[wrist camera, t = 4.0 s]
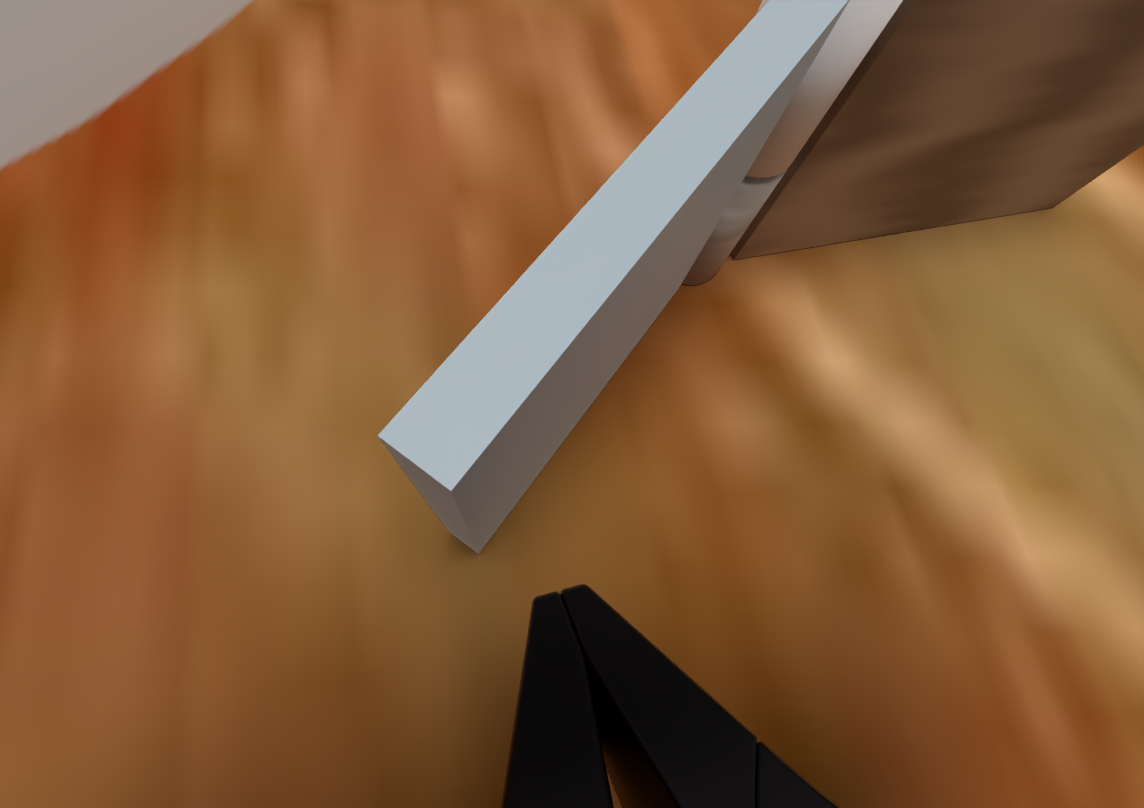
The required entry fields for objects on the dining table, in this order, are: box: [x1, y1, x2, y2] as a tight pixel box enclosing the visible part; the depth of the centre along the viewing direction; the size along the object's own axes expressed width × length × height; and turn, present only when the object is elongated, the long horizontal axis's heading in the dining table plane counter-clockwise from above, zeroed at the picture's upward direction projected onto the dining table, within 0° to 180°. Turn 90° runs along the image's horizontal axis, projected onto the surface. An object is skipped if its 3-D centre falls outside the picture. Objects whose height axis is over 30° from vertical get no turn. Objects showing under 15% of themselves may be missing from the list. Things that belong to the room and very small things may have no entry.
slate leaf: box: [378, 0, 903, 554], centre depth 13 cm, size 13×2×10 cm, turn 144°
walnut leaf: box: [682, 0, 1144, 285], centre depth 16 cm, size 17×2×10 cm, turn 105°
